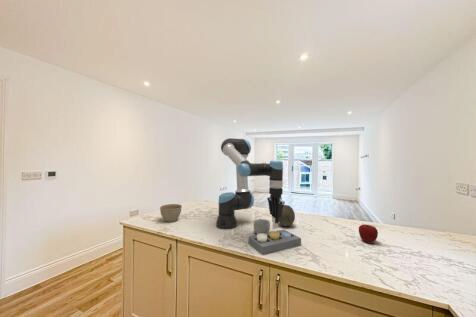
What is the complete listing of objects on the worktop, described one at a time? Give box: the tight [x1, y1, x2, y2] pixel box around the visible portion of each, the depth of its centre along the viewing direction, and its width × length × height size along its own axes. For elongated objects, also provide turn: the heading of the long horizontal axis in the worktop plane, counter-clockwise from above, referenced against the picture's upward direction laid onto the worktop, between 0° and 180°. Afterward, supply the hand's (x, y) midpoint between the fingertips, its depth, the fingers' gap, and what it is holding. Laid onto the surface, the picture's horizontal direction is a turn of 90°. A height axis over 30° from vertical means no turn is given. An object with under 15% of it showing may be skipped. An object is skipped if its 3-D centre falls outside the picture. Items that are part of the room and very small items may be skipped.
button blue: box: [281, 231, 292, 238], centre depth 115 cm, size 6×6×4 cm
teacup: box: [252, 218, 271, 235], centre depth 129 cm, size 14×11×8 cm
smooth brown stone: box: [278, 204, 296, 227], centre depth 143 cm, size 14×14×15 cm
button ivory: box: [256, 233, 267, 244], centre depth 108 cm, size 6×6×4 cm
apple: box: [358, 224, 379, 244], centre depth 116 cm, size 10×10×10 cm
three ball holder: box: [247, 229, 302, 256], centre depth 112 cm, size 15×26×4 cm, turn 116°
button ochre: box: [269, 230, 279, 241], centre depth 112 cm, size 6×6×4 cm
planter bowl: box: [159, 203, 183, 223], centre depth 152 cm, size 16×16×11 cm
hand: (275, 228), depth 112 cm, fingers closed
